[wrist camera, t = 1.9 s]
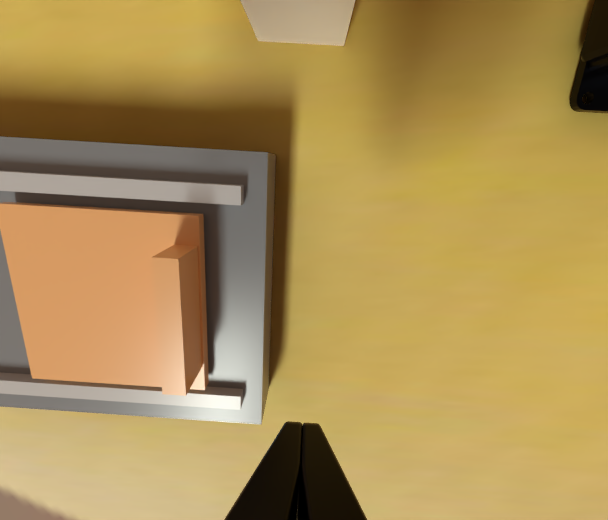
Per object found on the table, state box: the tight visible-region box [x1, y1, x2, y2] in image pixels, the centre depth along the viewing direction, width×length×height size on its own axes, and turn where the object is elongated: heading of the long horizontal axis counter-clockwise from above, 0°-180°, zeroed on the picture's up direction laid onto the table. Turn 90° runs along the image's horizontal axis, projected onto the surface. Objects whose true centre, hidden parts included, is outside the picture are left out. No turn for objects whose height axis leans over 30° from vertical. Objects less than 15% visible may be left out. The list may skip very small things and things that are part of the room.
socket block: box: [0, 137, 276, 424], centre depth 17 cm, size 22×14×4 cm, turn 87°
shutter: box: [0, 202, 209, 396], centre depth 14 cm, size 9×9×3 cm
